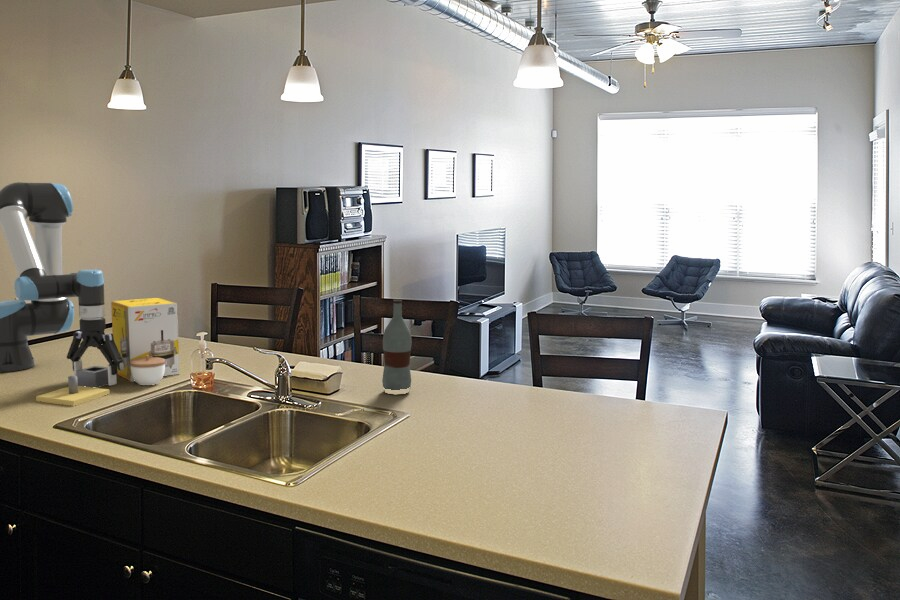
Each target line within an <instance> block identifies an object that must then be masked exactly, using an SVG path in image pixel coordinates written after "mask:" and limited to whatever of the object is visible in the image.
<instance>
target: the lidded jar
mask: <svg viewBox="0 0 900 600" xmlns="http://www.w3.org/2000/svg"><path fill="white" fill-rule="evenodd" d="M130 366H131V374H132V377H133V379H134V380H135V381H134V382H135V383H137V384H138V385H139V384H140V385H152V384H156V383H158V382H159V383H160V382H161V381H162V379H163V378H164V377H163V376H164V373H165V359H163V358H159V357H149V355H147V356H146V358H138V359H134V360H132V361H130ZM159 383H158V384H159ZM140 385H139V386H140Z"/></svg>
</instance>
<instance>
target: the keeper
mask: <svg viewBox="0 0 900 600" xmlns="http://www.w3.org/2000/svg"><path fill="white" fill-rule="evenodd" d="M67 378H68V379H67V382H68V386H66V387H62V388H58V389H56V390H53V391H50V392H46V393H42V394H39V395H36V396H35V397H36V398H35V399H36V402H40V401H41V402H40V403H48V404H56V405H62V404H63V405H64V406H70V405H71V406H73V407H76V406H79V405H81V404H80V403H82V404H84V403H83V402H85V403H87V402H86V401H88V402H90V401H89V400H91V401H93V400H92V399H94V400H96V399H95V398H97V397H100V398H102V397H101V396H103V397H105V396H104V395H106V396H108V395H107V394H109V395H110V392H111V391H110V389H108V388H101V387H98V388H93V387H84V386H78V379H77V376H74V375H69V376H68V377H67ZM97 399H98V398H97ZM78 404H79V405H78ZM75 405H76V406H75ZM71 406H70V407H71Z"/></svg>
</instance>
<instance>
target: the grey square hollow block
mask: <svg viewBox="0 0 900 600" xmlns="http://www.w3.org/2000/svg"><path fill="white" fill-rule="evenodd" d="M77 379H78V386H86V387H98V388H100V387H99V386H101V387H103V385H104V386H107V385H106V384H108V366H99V365H92V366H88V367H85V368H82V369H81V370H77Z"/></svg>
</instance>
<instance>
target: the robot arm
mask: <svg viewBox="0 0 900 600" xmlns="http://www.w3.org/2000/svg"><path fill="white" fill-rule="evenodd" d="M68 189H69V188H67V187H66V186H65V185H64V184H61V183H53V182H20V181H19V182H18V181H17V182H13V183H8V184H7V185H5V186H4V187H2V188H1V189H0V227H1V229H2V232H3V235H4V238H5V241H6V243H7V246H8V248H9V249H8V250H9V253H10V255H11V258H12V261H13V264H14V266H15V270H16V271H17V275H18V276H17V277H16V278H15V280H14V291H15V292H14V293H15V296H16V298H17V299H10V300H3V301H0V373H8V372H18V370H19V371H23V369H24V370H27V368H28V369H31V368H34V366H35V358H34V357H33V354H32V351H31V349H30V347H29V343H28V337H30V336H40V335H50V334H58V333H65V332H67V331H69V330H70V329H71V328H72V326H73V324H74V319H75V309H74V307H75V306H74V303H73V302H72V301H71V300H70V299H69V298H77V300H78V313H79V314H78V315H79V316H78V317H79V318H80V320H79V330H78V331H73V334H72V337H73V338H72V341H71V343H70V346H69V349H68V352H67V354H66V359H67V360H71V363H72V370H73V376H77V370H81V369H83V360H82V357H83V355H84V354H85V352H86V351H87V349H88V348H89V347H92V348H97V350H99V351H100V353H101V354H102V355H103V357H104V358H105V360H106V361H107V362H108V365H107V367H108V386H114V385H117V375H118V374H117V373H118V371H117V364H118V363H121V362H123V360H122V358H121V355H120V353H119V351H118V348H117V346H116V344H115V342H114V337H113V332H112V333H108V334H106V333H105V330H106V328H107V326H106V325H107V324H106V318H105V316H106V307H105V305H106V304H105V303H106V302H105V285H104V284H105V279H104V274H103V273H104V272H103V271H102V270H100V269H91V268H90V269H80V270H78V271H77V272H71V273H67V274H63V229H62V228H63V227H64V225H65V224H66V223H67V218H69V217H71V216H72V215H73V210H74V207H73V206H74V205H73V199H72V196H71V193H70V192H69V190H68ZM27 219H28V220H27ZM28 222H29V223H30V224H32V225H33V229H34V230H33V231H34V237H33V234H32V232H31V229H30V227H29V224H28ZM26 301H30V302H26ZM117 359H118V360H117ZM30 367H31V368H30Z"/></svg>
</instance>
